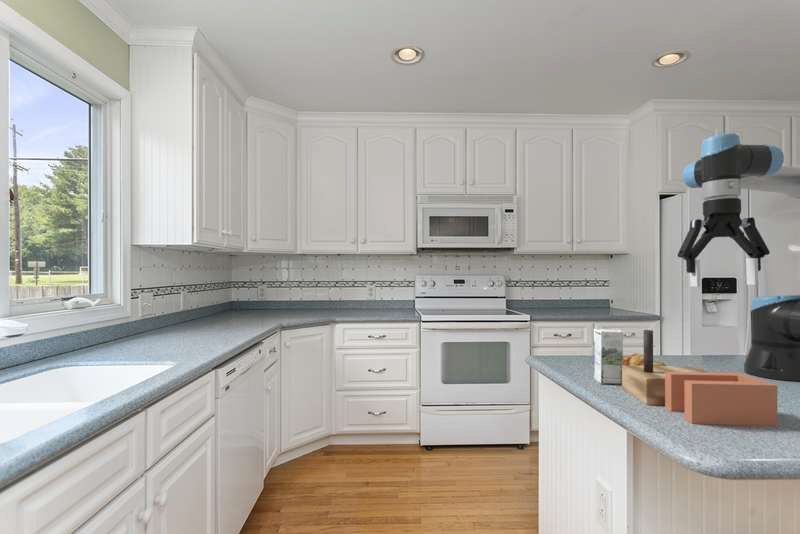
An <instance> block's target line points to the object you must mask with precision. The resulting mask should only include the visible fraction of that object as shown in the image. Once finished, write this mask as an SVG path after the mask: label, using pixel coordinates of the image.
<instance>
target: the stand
mask: <svg viewBox="0 0 800 534" xmlns="http://www.w3.org/2000/svg"><path fill="white" fill-rule="evenodd" d="M643 355H644V366H625V365H622V384H621V389H622V390H623V391H625V392H626V393H627V394H629V395H631V396H633V397H634V398H635V399H637V400H638V401H640V402H642V403H643V404H644V405H646V406H647V405H648V406H653V405H654V406H665V372H709V371H707V370H705V369H703V368H700V367H697V366H681V365H680V366H678V365H677V366H675V365H674V366H673V365H669V366H668V365H666V366H653V361H654V330H651V329H644V330H643Z"/></svg>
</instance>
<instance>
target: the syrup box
mask: <svg viewBox="0 0 800 534" xmlns="http://www.w3.org/2000/svg"><path fill="white" fill-rule="evenodd" d="M623 358H624V332H623V331H622V330H620V329H618V328H614V327H613V328H612V327H611V328H601V327H599V328H596V327H595V328H593V379H594V380H595V381H596V382H598V383H599V384H601V385H622V365H623Z"/></svg>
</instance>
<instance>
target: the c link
mask: <svg viewBox="0 0 800 534" xmlns="http://www.w3.org/2000/svg"><path fill="white" fill-rule="evenodd" d="M665 407H666V409H667V408H668V409H667V410H669V411H670V410H671V411H670V412H684V420H685V419H686V420H685V421H687V422H688V421H689V422H688V423H690V424H692V423H695V424H696V425H699V424H700V425H723V426H724V425H725V426H726V425H729V426H730V425H731V426H732V425H734V426H759V427H760V426H762V427H764V426H765V427H766V426H767V427H769V426H771V427H778V385H776V384H775V383H771V382H768V381H766V380H762V379H760V378H757V377H754V376H751V375H748V374H745V373H743V372H715V371H714V372H713V371H712V372H710V371H708V372H665V405H664V408H665Z"/></svg>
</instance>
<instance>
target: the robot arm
mask: <svg viewBox="0 0 800 534" xmlns="http://www.w3.org/2000/svg"><path fill="white" fill-rule="evenodd" d="M700 149H701V151H700V158H701V159H697V160H695V161H693V162H691V163H689V164H687V165H686V166H685V167H684V169H683V171H682V180H683V182H684V184H685V185H686V186H687V187H688V188H690V189H697V188H700V189H701V188H702V189H701V191H702V193H701V196H702V197H701V199H702V200H704V201H703V202H702V215H703V220H701V219H700V218H698V219H693V220H690V222H689V230H688V232H687V234H686V236H685V238H684V240H683V242H682V245H680V249H678V250H679V251H678V252H677V257H678V258H681V259H683V260H685V261H686V265H685V267H686V272H687V273H688V274H689V287H696V288H697V287H699V288H700V287H701V264H700V259H697V257H698V256H700V254H701V253H702V252H703V250H704V249H705V248H706V247H707V245H708V244H709V243H710V242H711V241H712V240H713V239H715V238H730V239H732V240H733V241H734V242H735V243H736V244H737V245H738V246H739V247H740V248H741V249H742V251H744V252H745V254H746V255H747V256H749V258H747V257H746V258H745V264H746V265H745V266H746V267H745V269H746V271H745V273H746V285H747V286H759V272H761V271H762V265H761V262H762V261H761V260H762V258H764V257H765V256H767V255H770V252H771V251H770V250H769V248H768V246H767V244H766V242H765V240H764V238H763V237H762V235H761V233H760V232H759V230H758V228H757V226H756V220H755V218H754V217H753V216H751V217H746V218H742V219H741V216H740V215H741V213H742V199H740V196H741V195H742V194H741V192H742V191H741V190H748V191H757V192H758V191H759V192H768V193H769V192H770V193H778V194H782V193H783V194H784V195H785V196H787V197H789V198H794V199H800V164H797V165H794V166H789V165H788V166H787V165H783V164H784V162H785V156H784V155H785V154H784V152H783V150H782V149H781V148H779V147H777V146H775V145H768V144H765V143H764V144H741V141H740V136H739V135H738V134H737V133H733V132H732V133H731V132H730V133H729V132H728V133H721V134H716V135H712V136H709V137H707V138H705V139H704V140H703V141H702V143H701V148H700ZM738 197H739V198H738ZM740 227H742V228H743V230H742V229H741V228H740ZM703 228H704V229H705V230H704V231H703V232H702V234H701V237H700V238H699V239H698V240H697V238H698V237H699V234H700V232H701V229H703ZM743 231H744V232H743ZM696 240H697V241H696ZM695 242H696V243H695ZM750 304H751V305H750V306H751V307H750V311H749V312H750V334H751V335H750V339H751V343H750V347H749V351H748V353H747V356H746V358H745V361H744V362H743V372H745V373H747V374H749V375H753V376H756V377H761V378H765V379H773V380H780V381H790V382H800V294H787V295H785V294H783V295H766V296H757V297H754V298H752V300H751V303H750Z"/></svg>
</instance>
